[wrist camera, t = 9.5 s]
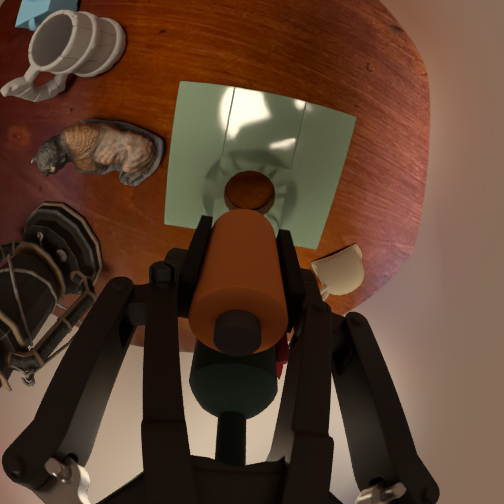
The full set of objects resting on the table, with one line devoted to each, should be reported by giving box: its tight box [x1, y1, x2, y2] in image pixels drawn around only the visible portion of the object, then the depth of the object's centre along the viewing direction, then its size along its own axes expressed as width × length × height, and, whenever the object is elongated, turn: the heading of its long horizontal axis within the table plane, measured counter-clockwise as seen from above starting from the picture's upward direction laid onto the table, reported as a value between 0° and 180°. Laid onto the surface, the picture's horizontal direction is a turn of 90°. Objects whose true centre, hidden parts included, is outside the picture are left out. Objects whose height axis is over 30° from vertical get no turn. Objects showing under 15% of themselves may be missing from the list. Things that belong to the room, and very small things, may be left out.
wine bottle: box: [189, 332, 290, 466], centre depth 23 cm, size 8×10×30 cm
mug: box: [0, 9, 126, 102], centre depth 16 cm, size 8×12×12 cm, turn 127°
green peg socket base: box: [164, 81, 357, 249], centre depth 28 cm, size 18×16×2 cm
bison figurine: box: [31, 118, 164, 186], centre depth 23 cm, size 12×7×10 cm, turn 73°
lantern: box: [0, 202, 103, 391], centre depth 22 cm, size 20×16×30 cm
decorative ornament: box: [311, 243, 364, 301], centre depth 34 cm, size 4×8×5 cm, turn 115°
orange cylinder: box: [189, 209, 288, 356], centre depth 15 cm, size 4×4×9 cm
